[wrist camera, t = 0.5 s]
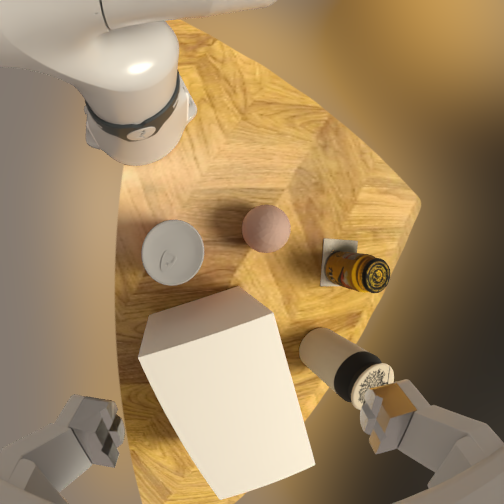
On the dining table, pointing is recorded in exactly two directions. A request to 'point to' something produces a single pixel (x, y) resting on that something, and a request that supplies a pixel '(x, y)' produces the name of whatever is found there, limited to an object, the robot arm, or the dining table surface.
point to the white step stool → (227, 390)
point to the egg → (266, 228)
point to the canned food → (172, 252)
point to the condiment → (352, 267)
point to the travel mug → (343, 365)
